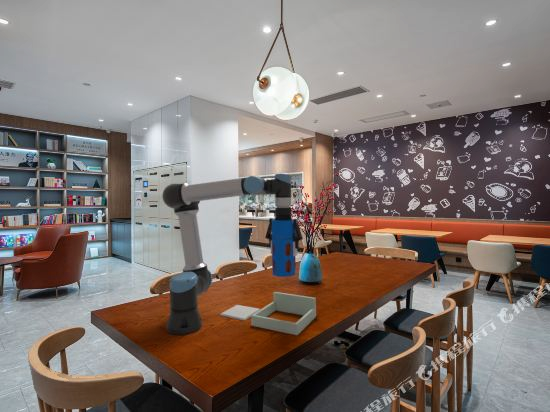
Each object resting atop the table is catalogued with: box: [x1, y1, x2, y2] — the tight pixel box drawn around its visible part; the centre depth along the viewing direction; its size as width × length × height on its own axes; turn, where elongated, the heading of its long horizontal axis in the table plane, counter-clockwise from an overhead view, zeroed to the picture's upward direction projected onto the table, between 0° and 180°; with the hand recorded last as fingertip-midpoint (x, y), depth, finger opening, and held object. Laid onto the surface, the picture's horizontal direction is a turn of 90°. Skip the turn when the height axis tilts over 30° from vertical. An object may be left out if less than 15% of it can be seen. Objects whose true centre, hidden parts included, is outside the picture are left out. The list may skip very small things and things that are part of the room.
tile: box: [220, 304, 261, 321], centre depth 148 cm, size 14×14×1 cm
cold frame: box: [250, 291, 317, 336], centre depth 138 cm, size 22×22×9 cm
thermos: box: [271, 220, 297, 278], centre depth 138 cm, size 11×11×25 cm
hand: (283, 254), depth 138 cm, fingers closed on thermos, 11 cm apart
